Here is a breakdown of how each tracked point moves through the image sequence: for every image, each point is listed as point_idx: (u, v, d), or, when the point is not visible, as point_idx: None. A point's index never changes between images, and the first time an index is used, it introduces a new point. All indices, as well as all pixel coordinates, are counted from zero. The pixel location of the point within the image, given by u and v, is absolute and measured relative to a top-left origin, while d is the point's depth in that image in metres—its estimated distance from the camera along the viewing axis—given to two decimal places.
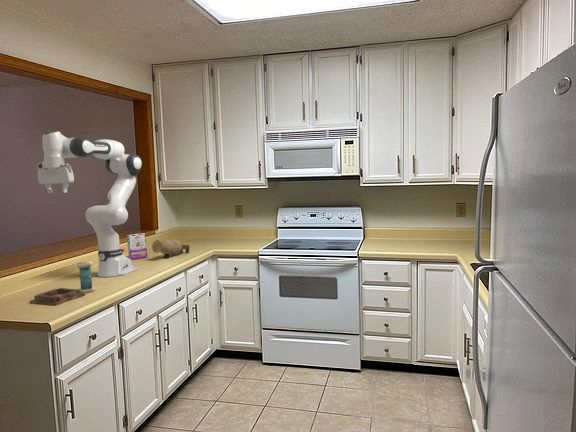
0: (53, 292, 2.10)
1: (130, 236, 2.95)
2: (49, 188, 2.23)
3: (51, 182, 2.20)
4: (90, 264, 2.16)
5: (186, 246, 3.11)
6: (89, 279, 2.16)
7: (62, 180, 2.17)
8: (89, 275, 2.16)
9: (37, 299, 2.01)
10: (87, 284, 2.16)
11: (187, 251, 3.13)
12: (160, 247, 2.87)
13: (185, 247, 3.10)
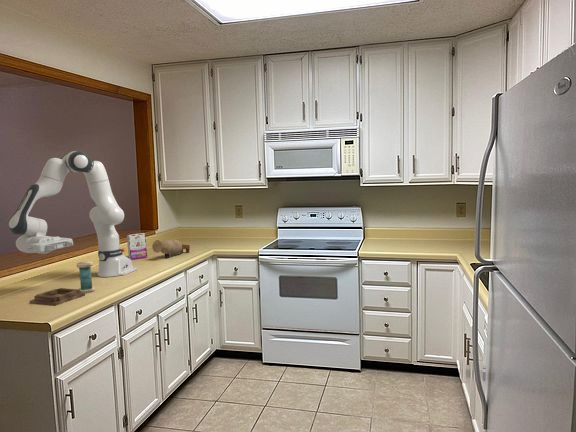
0: (53, 292, 2.10)
1: (130, 236, 2.95)
2: None
3: (59, 248, 2.24)
4: (90, 264, 2.16)
5: (186, 246, 3.11)
6: (89, 279, 2.16)
7: (44, 251, 2.17)
8: (89, 275, 2.16)
9: (37, 299, 2.01)
10: (87, 284, 2.16)
11: (187, 251, 3.14)
12: (160, 247, 2.87)
13: (185, 247, 3.10)
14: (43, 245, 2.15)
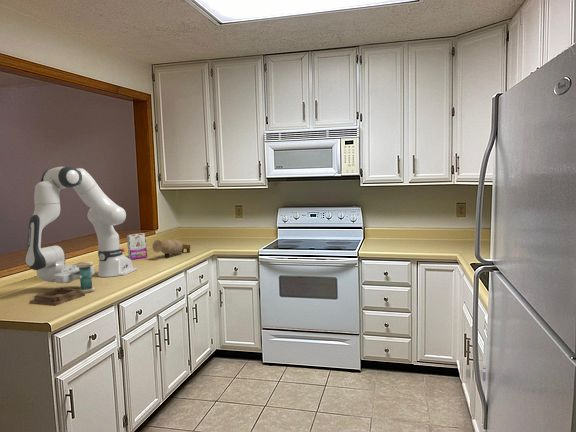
0: (53, 292, 2.10)
1: (130, 236, 2.95)
2: None
3: None
4: (90, 264, 2.16)
5: (187, 246, 3.12)
6: (89, 279, 2.16)
7: None
8: (89, 275, 2.16)
9: (37, 299, 2.01)
10: (87, 284, 2.16)
11: (188, 251, 3.14)
12: (160, 247, 2.88)
13: (186, 247, 3.11)
14: (66, 276, 2.11)
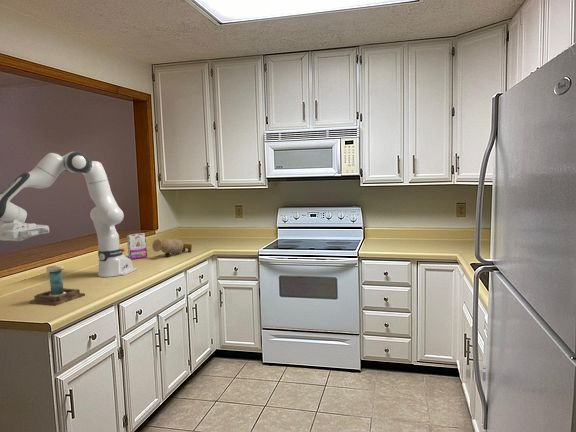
0: None
1: (130, 236, 2.95)
2: None
3: (34, 235, 2.16)
4: (61, 268, 2.04)
5: (188, 245, 3.13)
6: (60, 284, 2.04)
7: (18, 237, 2.10)
8: (60, 280, 2.04)
9: (37, 299, 2.01)
10: (58, 289, 2.04)
11: (189, 250, 3.16)
12: (160, 246, 2.91)
13: (187, 246, 3.12)
14: (16, 231, 2.08)
